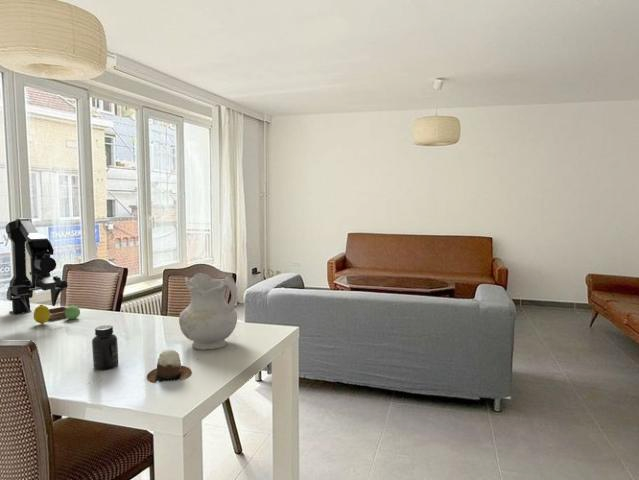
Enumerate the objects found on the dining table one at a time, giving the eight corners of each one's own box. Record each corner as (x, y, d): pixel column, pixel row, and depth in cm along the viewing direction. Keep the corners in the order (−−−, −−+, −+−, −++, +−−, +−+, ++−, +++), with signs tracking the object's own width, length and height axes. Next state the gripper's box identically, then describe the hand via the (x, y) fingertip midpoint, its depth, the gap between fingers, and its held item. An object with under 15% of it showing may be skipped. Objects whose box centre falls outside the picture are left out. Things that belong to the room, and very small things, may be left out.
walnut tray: (38, 316, 192) (38, 311, 192) (64, 311, 201) (63, 306, 201) (51, 320, 186) (50, 314, 186) (77, 315, 195) (76, 309, 195)
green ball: (62, 319, 188) (61, 306, 188) (75, 316, 193) (75, 303, 192) (69, 321, 185) (68, 308, 185) (83, 318, 190) (82, 305, 189)
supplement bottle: (111, 360, 141) (110, 322, 140) (122, 366, 136) (121, 326, 135) (89, 367, 135) (87, 327, 134) (99, 372, 131) (98, 332, 130)
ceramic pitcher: (252, 343, 162) (253, 273, 162) (226, 356, 143) (228, 277, 143) (198, 338, 168) (199, 270, 168) (166, 350, 149) (168, 275, 149)
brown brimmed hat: (145, 366, 133) (169, 339, 135) (173, 387, 136) (196, 360, 137) (140, 380, 122) (166, 350, 123) (170, 403, 124) (196, 373, 125)
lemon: (30, 325, 179) (29, 305, 179) (43, 322, 184) (42, 302, 184) (41, 326, 178) (40, 306, 177) (53, 323, 183) (52, 303, 182)
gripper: (23, 274, 167) (25, 316, 168) (74, 268, 182) (75, 306, 184) (9, 271, 173) (11, 312, 175) (59, 265, 189) (61, 302, 190)
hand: (41, 308), depth 181 cm, fingers open, 9 cm apart
